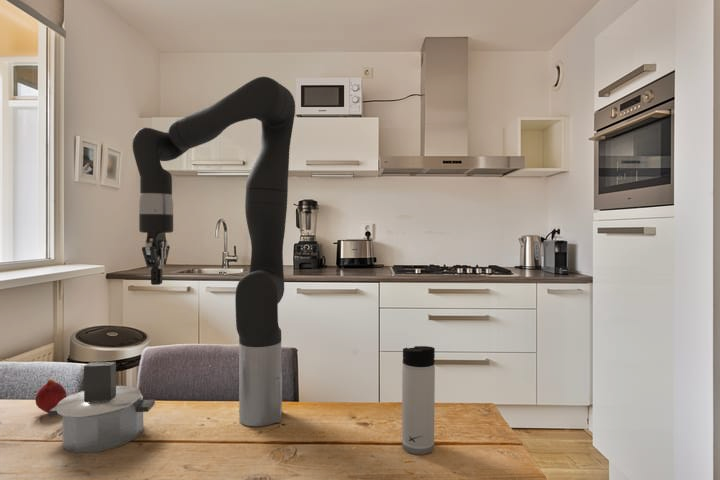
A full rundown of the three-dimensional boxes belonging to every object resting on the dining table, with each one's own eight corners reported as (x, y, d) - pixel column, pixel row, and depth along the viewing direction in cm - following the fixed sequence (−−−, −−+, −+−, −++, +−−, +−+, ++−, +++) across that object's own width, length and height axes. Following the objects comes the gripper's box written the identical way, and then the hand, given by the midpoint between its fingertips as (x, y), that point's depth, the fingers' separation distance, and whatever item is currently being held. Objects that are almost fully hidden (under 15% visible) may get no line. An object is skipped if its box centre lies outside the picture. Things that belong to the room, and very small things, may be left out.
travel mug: (414, 459, 82) (415, 351, 82) (395, 443, 88) (396, 343, 88) (441, 451, 85) (442, 347, 85) (421, 437, 91) (422, 340, 91)
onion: (72, 408, 105) (72, 375, 104) (53, 419, 99) (52, 383, 99) (49, 407, 105) (49, 374, 105) (29, 417, 100) (28, 382, 99)
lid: (151, 388, 98) (150, 353, 97) (123, 415, 83) (123, 374, 83) (80, 390, 96) (79, 354, 96) (39, 419, 81) (39, 377, 81)
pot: (162, 418, 99) (162, 387, 99) (138, 449, 85) (138, 413, 85) (73, 422, 97) (73, 390, 97) (34, 454, 83) (34, 417, 83)
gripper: (163, 212, 102) (164, 287, 102) (180, 214, 115) (180, 281, 115) (129, 211, 101) (129, 288, 101) (149, 213, 114) (150, 281, 114)
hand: (156, 284), depth 108 cm, fingers closed
